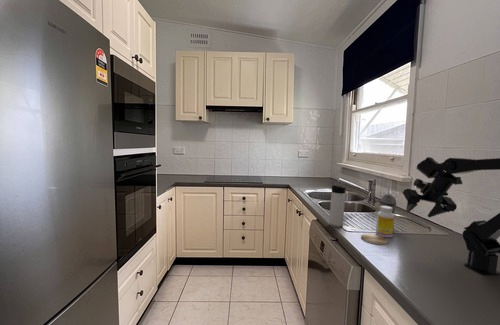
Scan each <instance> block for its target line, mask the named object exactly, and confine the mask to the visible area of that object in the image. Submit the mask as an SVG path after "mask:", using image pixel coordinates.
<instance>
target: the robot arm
mask: <svg viewBox="0 0 500 325" xmlns="http://www.w3.org/2000/svg"><path fill="white" fill-rule="evenodd" d="M416 169H417V171H418V172H420V173H421V174H422V175H424V176H425V177H426V178H427V179H433V180H432V181H431V182H430V181H428V182H427V181H423V180H422V179H421V178H420V179H419V178H416V179H415V180H414V181H413V186H414V187H415V188H416V189H419V190H420V193H421V194H419V193H418V191H417V190H416V189H411V188H405V189H403V191H402V194H403V196H404V198H405V199H406V201H407V202H406V203H407V204H406V209H405V212H406V213H410V212H411V211H413V209H415V208H416V207H417V206H418V204H419V203H420V202H421V201H422V202H428V203H432V204H434V206H433V207H432V209H431V210H430V211H429V212H428V214H427V217H428V218H432V217H436V216H437V215H438V216H439V215H442V214H446V213H450V212H452V213H454V212H455V211H456V210H457V207H458V206H457V204H456V203H455V202H454V200H453V199H452V197H449V196H448V195H449V193H448V191H449V190H450V189H451V187H452V186H453V185H463V181H462V177H461V176H456V175H459V174H460V175H463V174H468V173H469V174H470V173H474V172H478V171H479V172H480V171H492V170H493V171H496V170H500V157H497V158H496V157H495V158H482V159H481V158H479V159H475V158H466V157H465V158H464V157H448V158H446V159H445V160H444V161H443V162H440V163H439V162H438V161H436V160H435V159H434V158H433V157H430V156H429V157H428V156H427V157H426V158H425V159H423V160H422V161H420V162H419V163H418V164H417V165H416ZM455 174H456V175H455ZM462 238H463V241H464V243H465V245H466V249H467V251H468V255H467V256H468V258H467V262H466V263H463V264H464V266H466V267H467V268H470V269H472V270H473V271H475V272H477V273H479V274H481V275H500V271H498V270H497V269H498V262H499V255H497V254H500V242H499V241H498V239H499V238H500V212H499V213H498V214H496V215H495V216H492V218H489V219H488V220H487V221H486V220H477V221H476V220H475V221H473V222H471V223H470V225H469V224H468V226H466V227H463V231H462Z"/></svg>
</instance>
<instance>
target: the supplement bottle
mask: <svg viewBox="0 0 500 325" xmlns="http://www.w3.org/2000/svg"><path fill="white" fill-rule="evenodd" d="M379 209H380V210H379V211H378V212H377V216H376V227H375V233H376V234H375V235H378V236H381V237H384V238H392V237H393V235H394V226H395V225H394V224H395V215H394V214H395V213H394V214H393V213H392V210H393V208H392V207H389V206H380V208H379Z"/></svg>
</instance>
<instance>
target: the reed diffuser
mask: <svg viewBox="0 0 500 325" xmlns="http://www.w3.org/2000/svg"><path fill="white" fill-rule="evenodd" d="M387 188H388V189H387V194H384V195H382V197H381V198H380V201H379V204H380V207H381V206H389V207H392V208H393V210H392V213H393V214H395V209H396V207H397V200H396V198H395V196H393V195H391V194H390V185H388V187H387Z"/></svg>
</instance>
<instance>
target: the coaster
mask: <svg viewBox="0 0 500 325" xmlns="http://www.w3.org/2000/svg"><path fill="white" fill-rule="evenodd" d="M360 237H361V240H363V242H366V243H369V244H373V245H378V246H379V245H381V246H383V245H387V244H388V242H389V241H388V239H387V237H382V236H379V235H377V234H372V233H362V235H361V236H360Z"/></svg>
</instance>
